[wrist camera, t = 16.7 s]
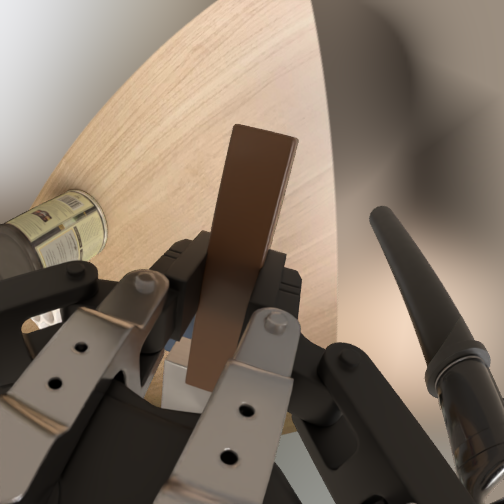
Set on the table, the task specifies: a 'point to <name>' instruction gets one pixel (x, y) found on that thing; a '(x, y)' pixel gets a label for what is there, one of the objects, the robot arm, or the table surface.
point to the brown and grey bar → (230, 262)
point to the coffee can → (52, 234)
